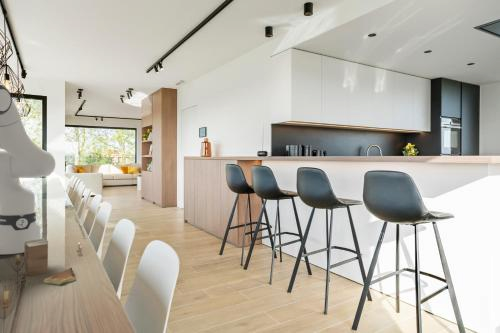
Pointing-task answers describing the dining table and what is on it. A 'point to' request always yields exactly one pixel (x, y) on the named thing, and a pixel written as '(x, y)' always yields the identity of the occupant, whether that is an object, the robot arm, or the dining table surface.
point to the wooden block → (35, 256)
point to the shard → (61, 277)
